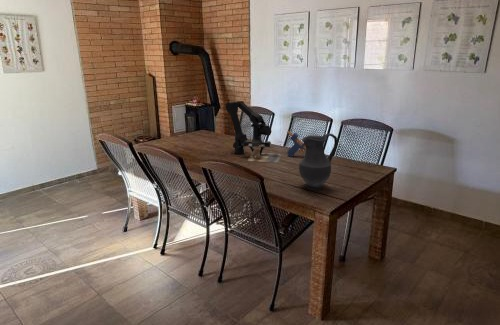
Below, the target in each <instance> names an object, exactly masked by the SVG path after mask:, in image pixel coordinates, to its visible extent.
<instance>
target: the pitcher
mask: <svg viewBox="0 0 500 325" xmlns="http://www.w3.org/2000/svg"><path fill="white" fill-rule="evenodd" d="M328 137H331V138H333V140H334V141H333V142H334V144H333V147H332V149H331V151H330V153H329V155H328V157H327V156H326V154H325V151H324V150H325V149H324V147H325V142H326V141H327V139H328ZM301 140H302V141H301V142H303V143H304V144H305V146H306V151H305V153H304V156H303V158H302V160H301V161H299V165H298V171H299V175H300V177H301V179H303V181H304V182H305V183H306V184H305V185H304V187H305V188H306V189H307V190H311V191H321V190H322V189H323V187H324V186H323V185H324V184H325V183H326V182H328V180H329V179H330V176H331V172H332V160H333V157H334V155H335V152H336V151H337V148H338V146H339V145H338V143H339V142H338V141H339V140H338V138H337V136H336V135H334V134H333V133H330V132H329V133H326V134H323V135H317V134H316V135H315V134H312V135H311V134H310V135H309V134H308V135H306V136H304V137H302V138H301Z"/></svg>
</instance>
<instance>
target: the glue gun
mask: <svg viewBox="0 0 500 325" xmlns="http://www.w3.org/2000/svg"><path fill="white" fill-rule="evenodd" d="M286 133H287V134H288V135H290V136H291V137H290V138H289V140H291V141H293V143H294V144H293V145H292V146H291V147H290V148H289V149H288V150H287V156H289V157H290V158H293V157H294V155H295V154H296V153H297V152H298V150H299V151H300V153H301V154H304V151H305V152H306V146H305V144H304V142H303V141H301V140H300V139H299V134H297V133H296V132H294V133H291V131H289V130H287V131H286Z"/></svg>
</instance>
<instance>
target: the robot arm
mask: <svg viewBox="0 0 500 325" xmlns="http://www.w3.org/2000/svg"><path fill="white" fill-rule="evenodd" d="M225 109H226V111H227V113H228V115H230V118H231V122H232V125H233V129H234V133H235V137H234V143H232V147H233V149H234V154H235V155H245V153H246V152H245V151H246V149H245V147H248V148H249V149H250V150H251V153H253V151H254V149H255V147H256V148H257V147H259V146H260V149H261V151H260V156H261V154H262V153H263V151H264V149H265V148H271V146H272V142H271V141H270V140H266V141H264V142H263V140H262V136H266V137H267V136H268V137H269V136H271V134H272V128H271V126H270V125H268V124H266V122H265V120H264V117H263V116H262V115H261V114H260V113H258V112H255V111H253V110H252V109H251V107H249V106H248V105H247V104H246V103H245V102H244V100H238V101H230V102H226V104H225ZM239 109H240V111H242V113H244V114H245V115H246V116H247V117H248V118H249V121H250V122H251V123H252V124H251V125H250V127H252V139H251V140H248V137H247V134H244V132H243V130H242V126H241V122H240V119H239V115H238V111H239Z"/></svg>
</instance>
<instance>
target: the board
mask: <svg viewBox="0 0 500 325" xmlns="http://www.w3.org/2000/svg"><path fill="white" fill-rule="evenodd" d="M280 159H281V153H268V152H266V153H265V152H262V154H261V157H260V158H253V153H252V152H250V156H249V157H248V159H247V161H248V162H261V163H262V162H264V163H277V164H278V163H279V161H280Z"/></svg>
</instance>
